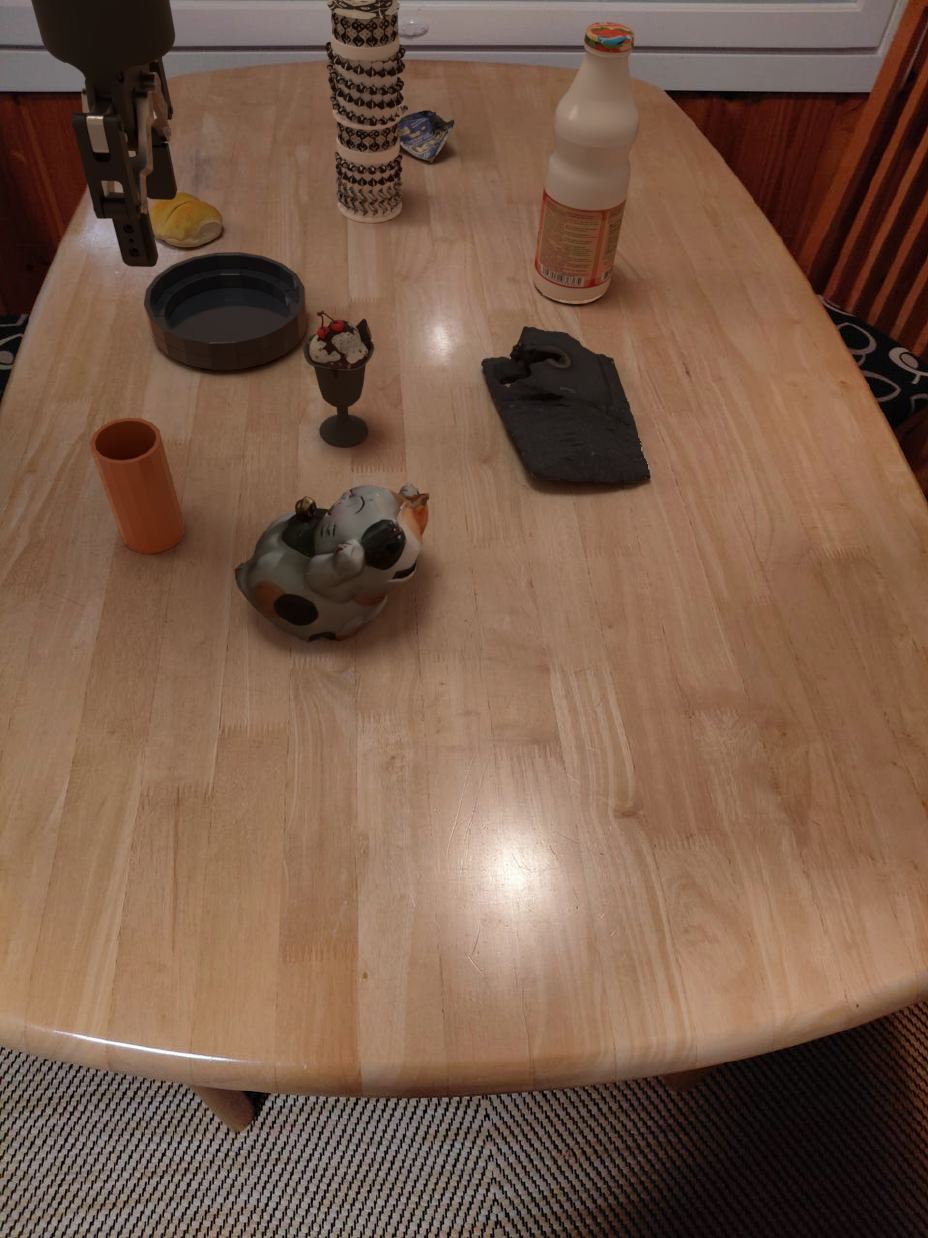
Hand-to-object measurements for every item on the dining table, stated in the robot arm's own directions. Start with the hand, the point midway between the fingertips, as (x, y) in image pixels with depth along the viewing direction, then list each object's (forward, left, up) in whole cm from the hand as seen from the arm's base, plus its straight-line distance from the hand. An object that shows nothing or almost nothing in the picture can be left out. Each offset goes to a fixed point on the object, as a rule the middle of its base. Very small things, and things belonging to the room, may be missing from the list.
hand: (152, 229), depth 64 cm
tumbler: (-5, +2, -29) cm, 29 cm away
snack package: (+63, +45, -29) cm, 83 cm away
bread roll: (+25, +45, -29) cm, 59 cm away
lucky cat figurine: (+4, -13, -29) cm, 32 cm away
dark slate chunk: (+36, -10, -29) cm, 47 cm away
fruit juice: (+55, +6, -29) cm, 62 cm away
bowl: (+18, +24, -29) cm, 42 cm away
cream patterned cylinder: (+47, +35, -29) cm, 66 cm away
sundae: (+17, +2, -29) cm, 34 cm away
